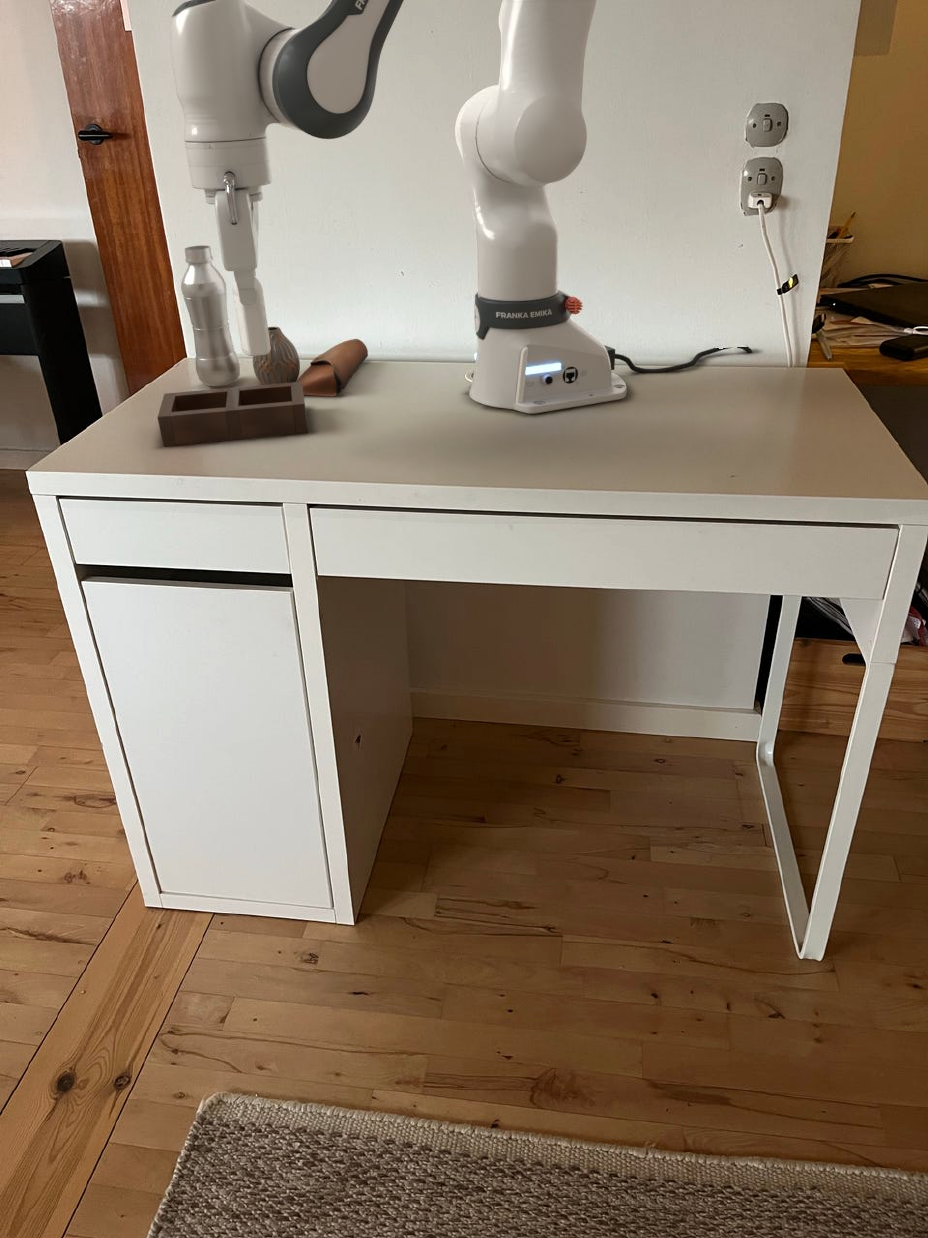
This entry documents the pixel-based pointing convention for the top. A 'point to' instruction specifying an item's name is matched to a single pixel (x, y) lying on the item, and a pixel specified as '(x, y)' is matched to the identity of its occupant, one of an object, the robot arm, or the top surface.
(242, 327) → the eye dropper bottle
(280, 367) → the vase
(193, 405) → the stand
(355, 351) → the sunglasses case
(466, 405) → the top surface
